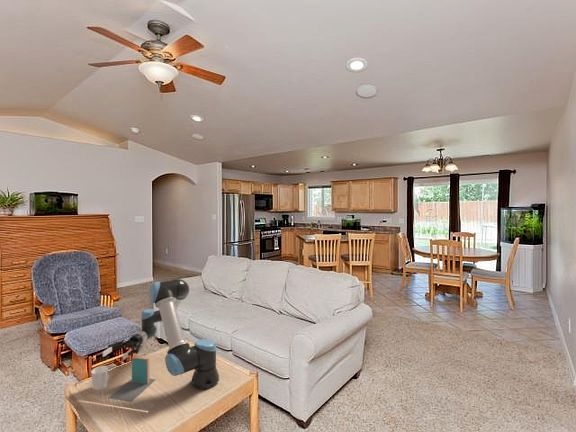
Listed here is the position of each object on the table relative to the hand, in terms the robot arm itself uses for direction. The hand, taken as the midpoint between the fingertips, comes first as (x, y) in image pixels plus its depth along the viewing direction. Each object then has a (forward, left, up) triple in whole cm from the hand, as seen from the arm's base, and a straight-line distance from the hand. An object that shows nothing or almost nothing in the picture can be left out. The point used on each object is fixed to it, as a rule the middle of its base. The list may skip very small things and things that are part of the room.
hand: (113, 355), depth 176 cm
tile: (-19, 0, -12) cm, 23 cm away
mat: (-20, +6, -13) cm, 24 cm away
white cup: (-1, +10, -13) cm, 16 cm away
